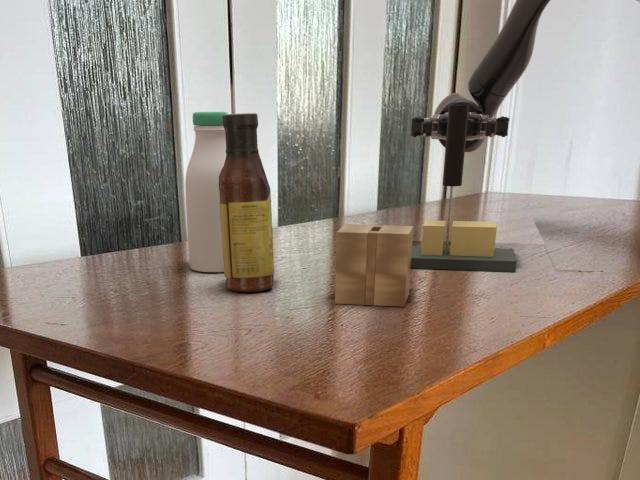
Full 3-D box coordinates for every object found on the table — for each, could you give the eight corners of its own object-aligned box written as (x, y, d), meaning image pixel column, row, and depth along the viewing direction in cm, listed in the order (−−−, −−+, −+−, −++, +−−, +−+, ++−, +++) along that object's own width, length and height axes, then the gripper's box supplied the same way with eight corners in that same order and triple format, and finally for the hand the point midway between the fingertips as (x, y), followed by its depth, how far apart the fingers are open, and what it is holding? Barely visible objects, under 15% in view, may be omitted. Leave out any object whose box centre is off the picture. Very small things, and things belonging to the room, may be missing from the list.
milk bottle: (242, 273, 103) (237, 111, 95) (186, 273, 104) (176, 112, 95) (245, 263, 110) (241, 111, 101) (193, 263, 110) (184, 111, 102)
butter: (512, 259, 111) (517, 220, 109) (515, 272, 103) (520, 230, 100) (403, 255, 115) (405, 217, 112) (397, 268, 106) (399, 227, 104)
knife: (455, 251, 109) (469, 104, 101) (455, 254, 107) (468, 104, 99) (437, 250, 110) (449, 105, 101) (436, 253, 108) (448, 105, 99)
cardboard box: (408, 295, 91) (413, 225, 87) (404, 307, 85) (409, 233, 82) (342, 292, 92) (344, 224, 89) (334, 303, 87) (336, 231, 83)
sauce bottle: (284, 288, 95) (283, 112, 86) (249, 296, 91) (244, 113, 82) (247, 281, 99) (243, 112, 90) (212, 289, 95) (203, 113, 86)
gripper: (417, 99, 122) (410, 99, 108) (508, 99, 119) (513, 98, 105) (414, 150, 126) (407, 156, 111) (502, 150, 123) (506, 156, 109)
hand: (458, 128), depth 108 cm, fingers open, 8 cm apart
